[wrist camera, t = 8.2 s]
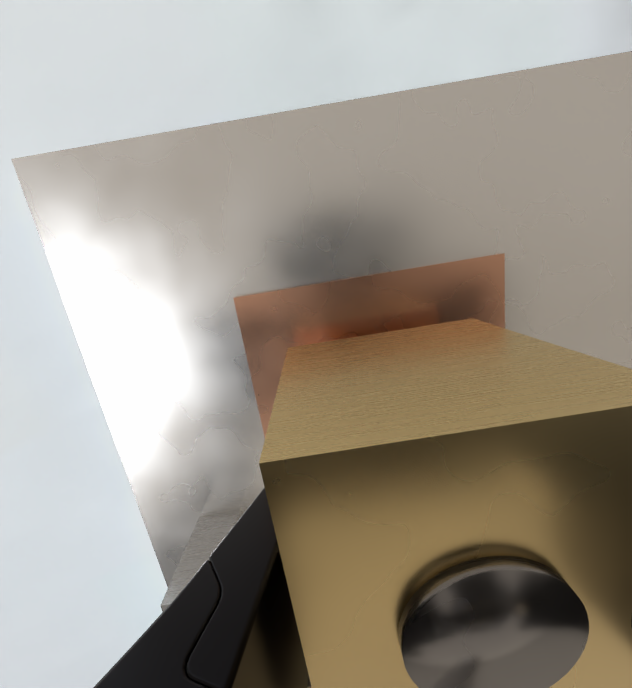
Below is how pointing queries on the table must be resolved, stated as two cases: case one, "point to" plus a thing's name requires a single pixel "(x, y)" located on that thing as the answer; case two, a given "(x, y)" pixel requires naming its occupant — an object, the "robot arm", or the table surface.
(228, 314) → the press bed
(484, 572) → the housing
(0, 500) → the table surface
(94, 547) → the table surface
